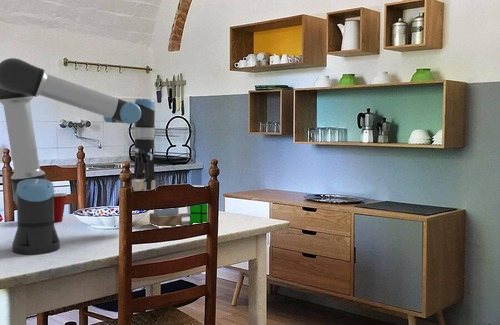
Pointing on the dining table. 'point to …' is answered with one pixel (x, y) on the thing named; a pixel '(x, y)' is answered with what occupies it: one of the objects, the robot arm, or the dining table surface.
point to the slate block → (166, 212)
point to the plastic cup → (59, 206)
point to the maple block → (141, 184)
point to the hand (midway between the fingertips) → (143, 196)
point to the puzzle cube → (198, 213)
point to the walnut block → (166, 220)
